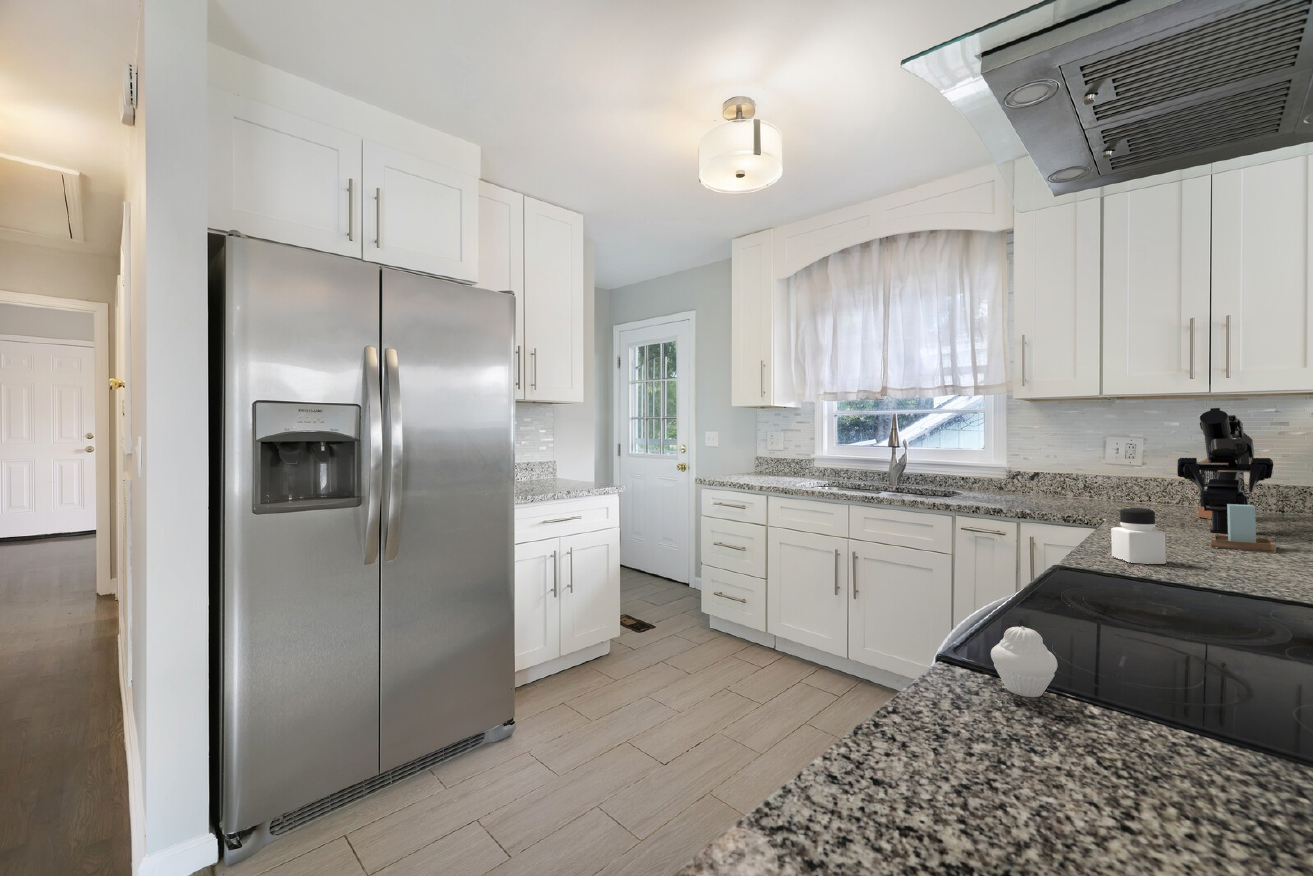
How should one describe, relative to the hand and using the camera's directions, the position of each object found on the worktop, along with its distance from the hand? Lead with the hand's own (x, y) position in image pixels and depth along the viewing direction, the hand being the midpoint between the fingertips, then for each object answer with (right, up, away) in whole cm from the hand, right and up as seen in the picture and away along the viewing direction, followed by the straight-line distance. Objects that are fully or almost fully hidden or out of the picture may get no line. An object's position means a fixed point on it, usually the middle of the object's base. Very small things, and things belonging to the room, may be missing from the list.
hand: (1226, 490), depth 155 cm
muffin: (-114, -13, -93) cm, 147 cm away
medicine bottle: (-45, -14, -26) cm, 54 cm away
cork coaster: (+4, -14, +3) cm, 15 cm away
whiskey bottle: (+42, -14, +44) cm, 62 cm away
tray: (-5, -13, -9) cm, 17 cm away
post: (-5, -13, -9) cm, 17 cm away
